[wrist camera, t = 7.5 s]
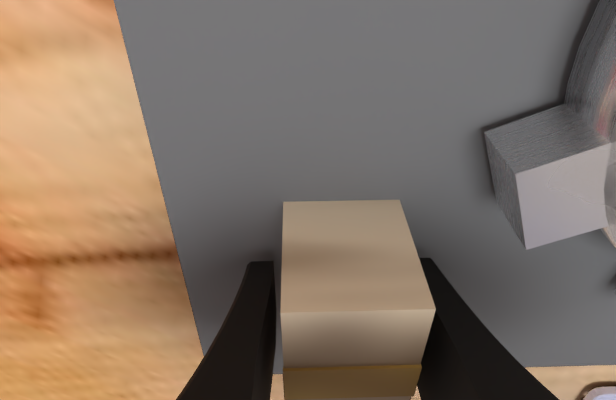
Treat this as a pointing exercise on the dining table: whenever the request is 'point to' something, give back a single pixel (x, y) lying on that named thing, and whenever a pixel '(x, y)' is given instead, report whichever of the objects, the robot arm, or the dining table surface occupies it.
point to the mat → (367, 146)
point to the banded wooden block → (351, 302)
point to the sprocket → (564, 150)
